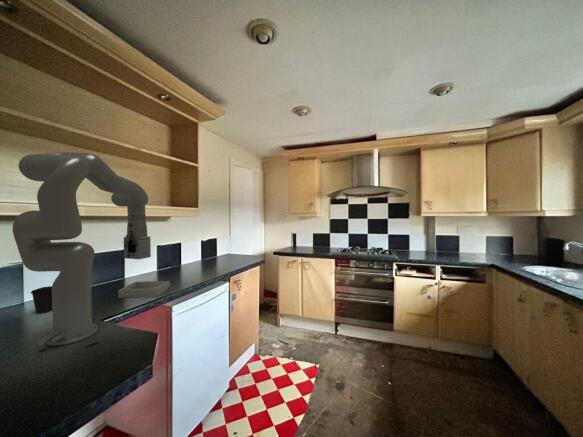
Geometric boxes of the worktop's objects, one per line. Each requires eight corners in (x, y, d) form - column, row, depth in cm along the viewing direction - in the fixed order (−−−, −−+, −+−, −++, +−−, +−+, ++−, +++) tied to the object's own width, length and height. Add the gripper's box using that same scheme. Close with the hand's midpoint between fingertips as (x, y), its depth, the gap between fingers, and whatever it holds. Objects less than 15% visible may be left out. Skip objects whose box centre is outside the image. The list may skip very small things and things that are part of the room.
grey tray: (156, 297, 112) (156, 289, 112) (118, 298, 111) (118, 290, 111) (169, 288, 126) (169, 280, 126) (136, 288, 125) (136, 281, 125)
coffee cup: (25, 316, 91) (24, 291, 91) (39, 308, 99) (39, 285, 99) (51, 313, 94) (50, 289, 94) (63, 306, 102) (63, 283, 102)
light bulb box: (123, 258, 114) (122, 237, 114) (136, 256, 121) (135, 235, 120) (139, 259, 111) (138, 237, 111) (151, 257, 117) (151, 236, 117)
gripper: (134, 217, 107) (134, 253, 107) (153, 216, 124) (153, 248, 125) (117, 217, 106) (118, 254, 107) (138, 216, 124) (139, 248, 124)
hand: (137, 250), depth 116 cm, fingers closed on light bulb box, 8 cm apart
